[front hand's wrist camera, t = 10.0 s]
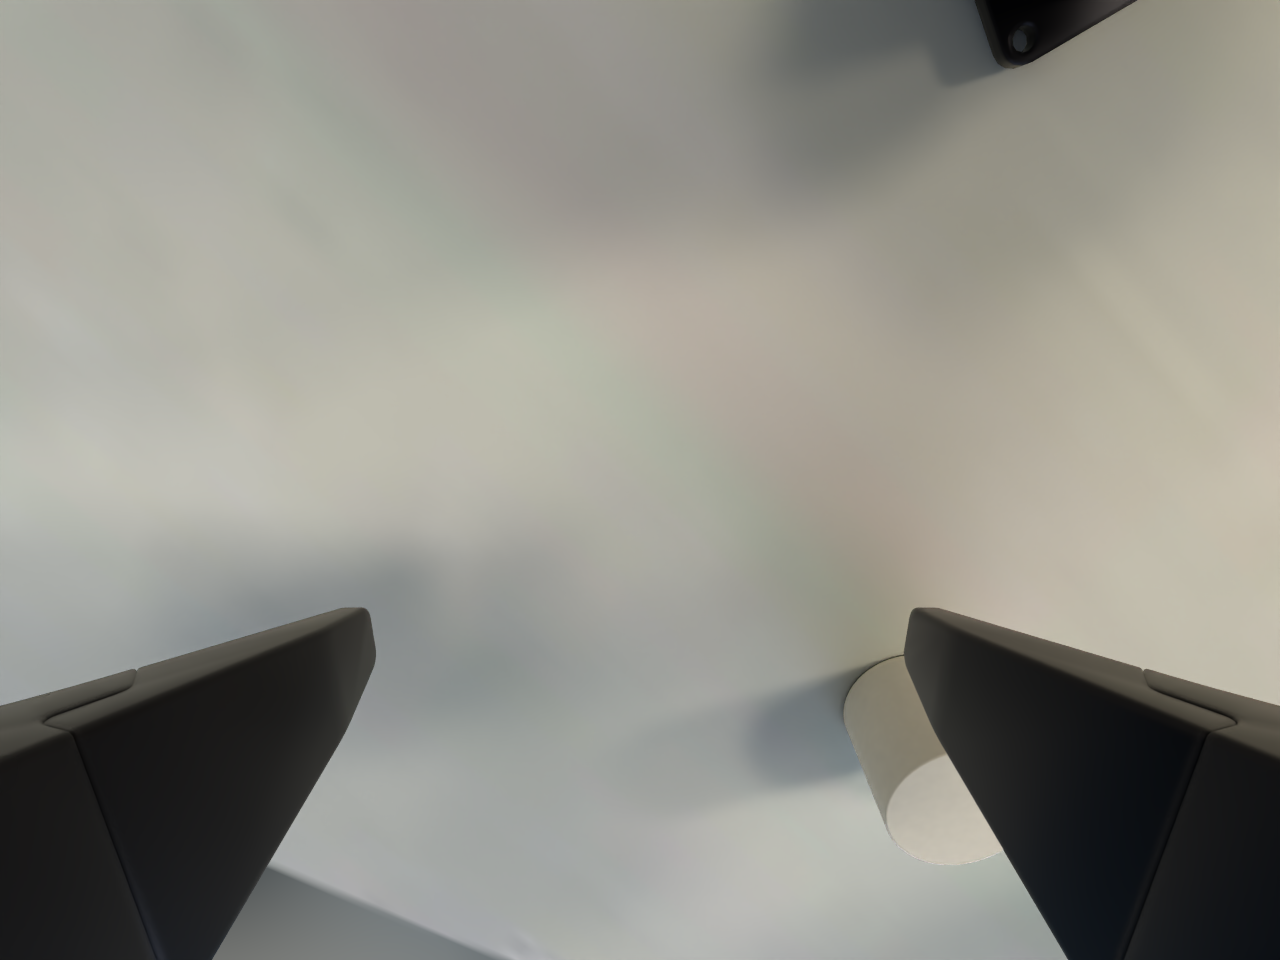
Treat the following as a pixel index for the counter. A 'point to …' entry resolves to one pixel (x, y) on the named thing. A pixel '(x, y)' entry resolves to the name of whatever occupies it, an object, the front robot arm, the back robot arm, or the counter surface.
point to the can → (913, 771)
